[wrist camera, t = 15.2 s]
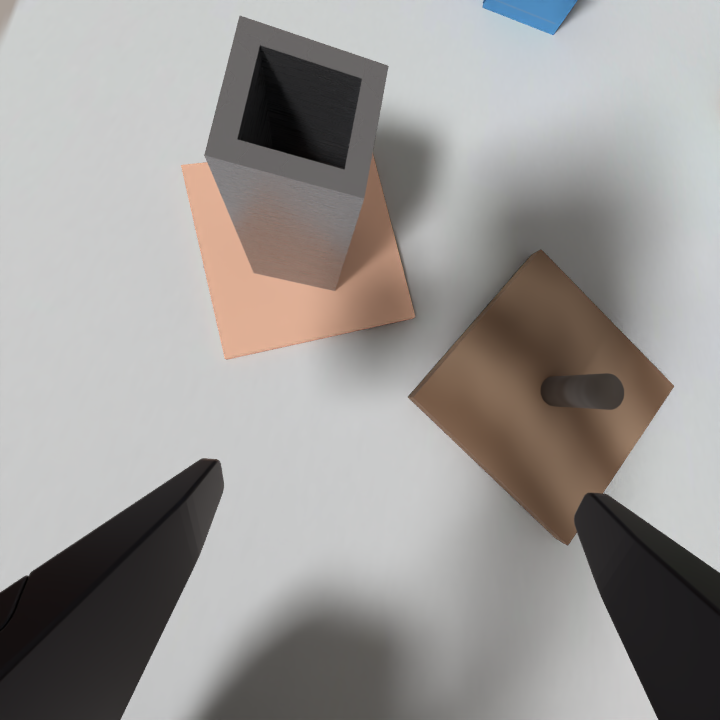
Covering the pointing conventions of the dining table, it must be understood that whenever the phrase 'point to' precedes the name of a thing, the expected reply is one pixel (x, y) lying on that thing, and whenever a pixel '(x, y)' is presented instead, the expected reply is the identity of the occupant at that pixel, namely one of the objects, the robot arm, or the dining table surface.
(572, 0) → the perfume bottle
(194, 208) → the rubber mat
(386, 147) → the dining table surface
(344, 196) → the steel sleeve
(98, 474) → the dining table surface
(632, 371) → the post base
